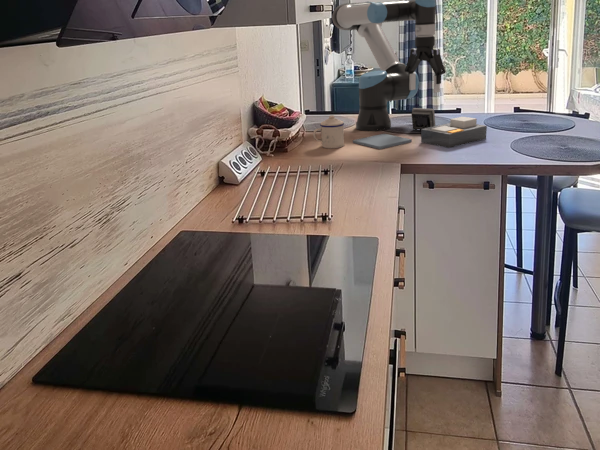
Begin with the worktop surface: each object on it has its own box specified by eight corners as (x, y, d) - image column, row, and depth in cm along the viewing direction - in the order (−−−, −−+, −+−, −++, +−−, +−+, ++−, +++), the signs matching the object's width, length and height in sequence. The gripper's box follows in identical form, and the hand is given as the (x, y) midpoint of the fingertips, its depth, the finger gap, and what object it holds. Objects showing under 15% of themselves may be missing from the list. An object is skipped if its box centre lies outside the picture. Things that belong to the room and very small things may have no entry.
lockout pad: (352, 142, 226) (352, 140, 225) (384, 136, 234) (383, 133, 233) (379, 149, 213) (379, 146, 213) (411, 141, 221) (411, 139, 221)
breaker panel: (421, 142, 220) (421, 128, 218) (457, 133, 230) (458, 120, 228) (448, 148, 208) (449, 133, 207) (486, 138, 218) (486, 124, 217)
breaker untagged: (450, 126, 221) (450, 119, 220) (462, 123, 224) (462, 116, 223) (463, 128, 215) (464, 121, 214) (476, 125, 219) (476, 118, 218)
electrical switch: (436, 129, 239) (435, 107, 235) (431, 133, 235) (431, 111, 231) (414, 128, 244) (414, 106, 240) (409, 132, 240) (409, 110, 236)
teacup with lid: (341, 142, 227) (340, 112, 223) (347, 147, 219) (346, 116, 215) (311, 145, 226) (310, 115, 221) (316, 150, 217) (315, 119, 213)
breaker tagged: (431, 136, 217) (431, 128, 216) (444, 133, 220) (444, 125, 219) (444, 138, 211) (445, 131, 210) (457, 135, 215) (458, 128, 214)
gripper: (396, 36, 234) (396, 89, 242) (441, 36, 214) (440, 94, 222) (409, 35, 238) (409, 87, 245) (456, 35, 218) (454, 92, 226)
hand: (424, 91), depth 234 cm, fingers open, 13 cm apart
